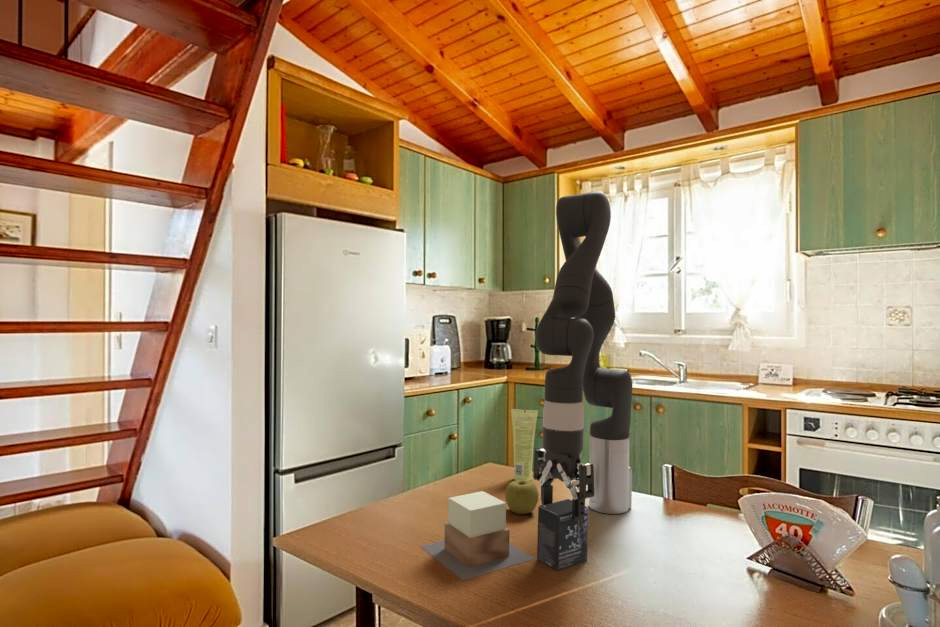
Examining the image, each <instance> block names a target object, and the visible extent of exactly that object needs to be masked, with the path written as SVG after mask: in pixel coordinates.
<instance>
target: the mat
mask: <svg viewBox="0 0 940 627" xmlns="http://www.w3.org/2000/svg"><path fill="white" fill-rule="evenodd" d="M444 546H445V539H443V540H440V541H435V542H433V543H428V544H423V545H420V548H421V549H423V550H424V551H425V552H426V553H427V554H429V555H430V556H431V557H433V558H434V559H435V560H436V561H437V562H439V563H440V564H442V565H443V566H444V567H445V568H447V570H449V571H450V572H451V573H452V574H454V575H455V576H456V577H458V578H459V579H460V580H461V581H466V580H468V579H473V578H475V577H476V578H477V577H480V576H482V575H486V574H489V573H490V574H491V573H493V572H496V571H501V570H503V569H506V568H509V567H513V566H517V565H520V564H523V563H526V562H531V561H534V560H536V558H535V557H533V556H532V555H530V554H528V553H526V551H523V550H522V549H520V548H518V547H517V546H515V544H512V543H510V542H509V556H507V557H504V558H500V559H496V560H493V561H489V562H486V563H482V564H479V565H475V566H472V567H468V566H467V565H465V564H464V563H463V562H461V561H460V560H459V559H457V558H456V557H455V556H453V555H452V554H451V553H449V552H448V551H447V550H445V549H444Z"/></svg>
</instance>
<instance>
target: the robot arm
mask: <svg viewBox="0 0 940 627" xmlns="http://www.w3.org/2000/svg"><path fill="white" fill-rule="evenodd" d="M555 206H556V209H555V210H556V211H555V216H556V223H557V224H556V225H557V229H558V232H559V237H560V241H561V246H562V249H563V253H564V254H563V255H564V259H565V262H564V263H563V265H562V266H561V267H560V269H559V270H558V273H557V276H556V281H555V284H554V285H555V286H554V291H553V295H552V299H551V301H550V304H549V305H548V307H547V309H546V310H545V312H544V314H543V316H542V318H541V319H540V321H539V322H538V325H537V328H536V331H535V344H536V347H537V349H538V351H540V353H541V354H544V355H548V356H562V357H563V356H564V357H571V359H570V360H571V361H570V362H569V364H568V365H566V366H563V367H555V368H551V369H548V370H547V371H546V372H545V376H544V405H543V409H542V410H543V411H542V448H538V449H537V448H536V449H535V450H534V452H533V470H532V477H533V479H534V480H535V481H538V484H539V486H540V501H541V505H546V504H550V503H554V502H553V500H554V498H553V496H554V494H553V492H554V491H553V490H554V485H552V484H553V483H554V481H555V480H557V479H558V480H559V481H561V482H562V483H564V485H565V487H566V488H567V489H569V492H570V494H571V496H572V499H571V500H572V519H574V520H580V519H583V517H584V515H585V506H586V499H588V506H589V507H588V508H590V509H591V510H593V511H596V512H597V513H602V514H608V515H609V514H610V515H620V514H624V513H627V512H628V511H629V509H631V508H632V504H633V503H632V494H633V492H632V489H633V488H632V487H633V486H632V485H633V483H632V482H633V480H632V479H633V478H632V477H633V476H632V475H633V474H632V473H633V471H632V467H630V432H631V431H630V429H631V422H632V420H631V418H632V417H631V416H632V400H633V379H632V375H631V374H630V372H629V371H628V370H625V369H618V368H617V369H615V368H614V369H613V368H601V365H600V364H601V363H600V352H601V349H602V347H603V344H604V343H605V340H606V339H607V337H608V335H609V333H610V331H611V330H612V328H613V326H614V323H615V321H616V320H615V319H616V309H615V302H614V301H615V300H614V295H613V289H612V287H611V286H610V284H609V283H608V281H607V280H606V278H605V277H604V276H603V274H602V273H600V271H598V270H597V268H596V267H597V264H598V262H599V259H600V256H601V253H602V251H603V248H604V245H605V242H606V239H607V236H608V232H609V228H610V227H611V226H610V225H611V217H612V216H611V214H612V213H611V205H610V200H609V199H608V196H607V195H606V194H605V193H604V192H602V191H592V192H584V193H578V194H570V195H563V196H562V197H560V198H558V200H557V203H556V205H555ZM582 237H585V238H584V239H582V242H581V241H580V238H582ZM584 398H585V400H586V401H585V402H587V404H589V405H590V406H594V407H602V408H610V409H611V408H612V409H611V410H612V411H611V415H610V416H608V417H606V418H603V419H598V420H595V421H592V422H591V423H590V426H589V462H587V463H584V462H581V457H580V456H581V453H582V452H583V450H584V431H585V430H584V426H585V425H584V423H585V421H584V420H585V417H584V414H585V412H584V404H583V403H584V402H583V400H584ZM576 487H577V488H576Z"/></svg>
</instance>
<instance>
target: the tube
mask: <svg viewBox="0 0 940 627" xmlns="http://www.w3.org/2000/svg"><path fill="white" fill-rule="evenodd" d="M538 414H539V411H538V409H537V410H536V409H518V408H517V409H515V408H511V409H510V416H511V424H512V440H513V443H512V444H513V479H514V481H516V480H527V481H530V482H531V481H532V477H533V464H534V448H535V445H534V444H535V437H536V436H535V435H536V434H535V433H536V427H537V419H538Z"/></svg>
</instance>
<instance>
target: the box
mask: <svg viewBox="0 0 940 627" xmlns="http://www.w3.org/2000/svg"><path fill="white" fill-rule="evenodd" d="M537 510H538V511H537V512H538V513H537V543H536V545H537V547H536V548H537V550H536V552H537V553H536V559H537V561H538V562H541V563H542V564H544V565H546V566H547V567H549V568H551V569H552V570H553V571H555V572H558V571H562V570H564V569H567V568H570V567H574V566H576V565H579V564H582V563H585V562H588V531H589V528H588V525H589V522H588V521H589V507H588V506H586V505H585V515H584V517H583V519H580V520H574V519H572V499H570V498H566V499H564V500H560V501H555V502H553V503H550V504H546V505H542V504H541V505H538V509H537Z"/></svg>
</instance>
